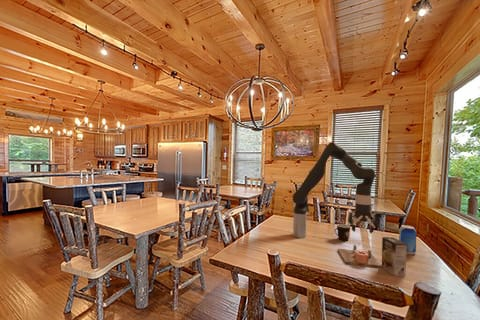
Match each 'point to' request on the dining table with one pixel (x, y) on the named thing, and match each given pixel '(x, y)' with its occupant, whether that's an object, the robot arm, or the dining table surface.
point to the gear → (362, 257)
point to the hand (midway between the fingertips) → (362, 231)
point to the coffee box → (394, 256)
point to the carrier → (350, 258)
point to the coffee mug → (343, 232)
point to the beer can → (408, 238)
